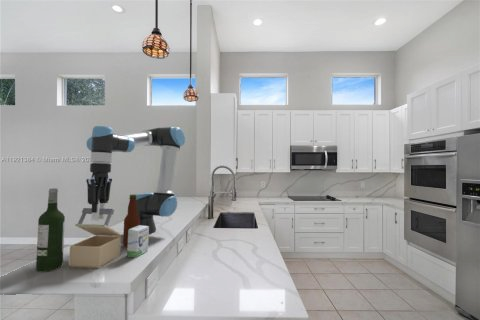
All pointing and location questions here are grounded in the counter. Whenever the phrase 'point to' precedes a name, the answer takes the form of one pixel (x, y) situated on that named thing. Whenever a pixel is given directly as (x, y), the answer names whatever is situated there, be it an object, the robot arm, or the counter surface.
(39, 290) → the counter surface
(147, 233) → the ink box
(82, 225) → the flap
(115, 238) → the carton
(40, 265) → the wine bottle
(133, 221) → the bottle
